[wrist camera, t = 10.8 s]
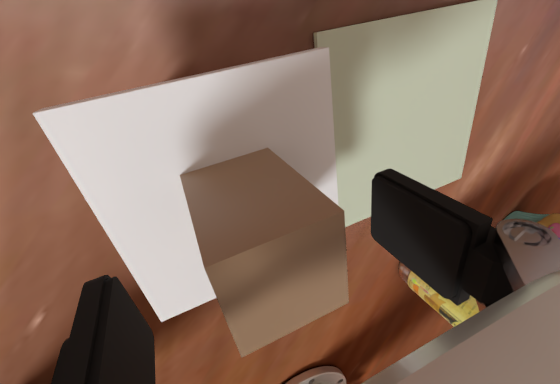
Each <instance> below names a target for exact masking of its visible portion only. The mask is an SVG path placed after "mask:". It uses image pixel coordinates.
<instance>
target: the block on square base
mask: <svg viewBox="0 0 560 384" xmlns="http://www.w3.org/2000/svg"><path fill="white" fill-rule="evenodd" d="M33 115H34V116H35V118H36V120H37V121H38V123H39V124H40V126H41V128H42V129H43V131H44V133H45V134H46V136H47V137H48V139H49V141H50V142H51V144H52V146H53V147H54V149H55V150H56V152H57V154H58V155H59V157H60V159H61V160H62V162H63V163H64V165H65V167H66V168H67V170H68V172H69V173H70V175H71V176H72V178H73V180H74V181H75V183H76V185H77V186H78V188H79V189H80V191H81V193H82V194H83V196H84V197H85V199H86V201H87V202H88V204H89V206H90V207H91V209H92V210H93V212H94V214H95V215H96V217H97V219H98V220H99V222H100V223H101V225H102V227H103V228H104V230H105V232H106V233H107V235H108V236H109V238H110V240H111V241H112V243H113V245H114V246H115V248H116V249H117V251H118V253H119V254H120V256H121V258H122V259H123V261H124V262H125V264H126V266H127V267H128V269H129V271H130V272H131V274H132V275H133V277H134V279H135V280H136V282H137V284H138V285H139V287H140V288H141V290H142V292H143V293H144V295H145V297H146V298H147V300H148V301H149V303H150V305H151V306H152V308H153V310H154V311H155V313H156V314H157V316H158V318H159V319H160V321H161V322H163V321H165V320H167V319H170V318H172V317H174V316H176V315H179V314H181V313H183V312H185V311H188V310H190V309H192V308H194V307H197V306H199V305H201V304H203V303H206V302H208V301H210V300H213V299H215V298H217V300H218V302H219V305H220V307H221V309H222V312H223V314H224V317H225V319H226V321H227V324H228V326H229V329H230V331H231V333H232V336H233V338H234V340H235V343H236V345H237V348H238V350H239V352H240V355H241V357H244V356H246V355H248V354H250V353H252V352H254V351H256V350H258V349H260V348H261V347H263V346H265V345H267V344H269V343H271V342H273V341H275V340H277V339H279V338H281V337H283V336H285V335H287V334H289V333H291V332H293V331H295V330H297V329H298V328H300V327H302V326H304V325H306V324H308V323H310V322H312V321H314V320H316V319H318V318H320V317H322V316H324V315H326V314H328V313H330V312H332V311H333V310H335V309H337V308H339V307H341V306H343V305H345V304H347V303H349V298H348V277H347V256H346V235H345V214H344V210H343V209H342V208H340V207H339V205H338V189H337V172H336V155H335V139H334V122H333V106H332V89H331V72H330V56H329V47H319V48H314V49H310V50H305V51H301V52H296V53H292V54H287V55H282V56H278V57H273V58H269V59H264V60H260V61H255V62H251V63H246V64H242V65H237V66H233V67H228V68H224V69H219V70H214V71H210V72H205V73H201V74H196V75H192V76H187V77H183V78H178V79H174V80H169V81H165V82H160V83H155V84H151V85H146V86H142V87H137V88H133V89H128V90H124V91H119V92H115V93H110V94H106V95H101V96H97V97H92V98H87V99H83V100H78V101H74V102H69V103H65V104H60V105H56V106H51V107H47V108H42V109H39V110H38V111H36V112H34V113H33Z"/></svg>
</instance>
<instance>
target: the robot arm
mask: <svg viewBox="0 0 560 384" xmlns="http://www.w3.org/2000/svg"><path fill="white" fill-rule="evenodd" d="M492 220H493V219H492V218H490V217H488V216H486V215H484V214H482V213H480V212H478V211H476V210H474V209H472V208H470V207H468V206H466V205H464V204H462V203H460V202H458V201H456V200H454V199H452V198H450V197H448V196H446V195H444V194H442V193H440V192H438V191H436V190H434V189H432V188H430V187H428V186H426V185H424V184H422V183H420V182H418V181H416V180H414V179H412V178H409V177H407V176H405V175H403V174H401V173H399V172H397V171H395V170H393V169H386V170H383V171H381V172H378V173H376V174H375V176H374V178H373V179H372V194H371V234H372V237H373V238H374V240H375V241H377V242H378V243H379V244H380V245H381V246H382V247H384V248H385V249H386V250H387V251H388V252H390V253H391V254H392V255H393V256H394V257H396V258H397V259H398V260H399V261H400V262H401V263H403V264H404V265H405V266H406V267H407V268H409V269H410V270H411V271H412V272H413V273H414V274H416V275H417V276H418V277H419V278H420V279H422V280H423V281H424V282H425V283H426V284H428V285H429V286H430V287H431V288H432V289H433V290H435V291H436V292H437V293H438V294H439V295H441V296H442V297H443V298H445V299H450V300H451V301H452V302H453V303H454V304H456V305H457V306H458V305H460V304H462V303H463V302H465V301H467V300H468V299H469V297H470V295H471V296H472V297H473V298H475V299H476V302H477V305H478V308H479V311H480V312H478V313H477V314H475V315H473V316H472V317H470V318H468V319H467V320H465V321H463V322H462V323H460V324H458V325H457V326H455V327H454V328H452V329H450V330H449V331H447V332H445V333H444V334H442V335H440V336H439V337H437V338H435V339H434V340H432V341H430V342H429V343H427V344H425V345H424V346H422V347H420V348H419V349H417V350H416V351H414V352H412V353H411V354H409V355H407V356H406V357H404V358H402V359H401V360H399V361H397V362H396V363H394V364H393V365H391V366H389V367H388V368H386V369H384V370H383V371H381V372H379V373H378V374H376V375H375V376H373V377H371V378H370V379H368V380H366V381H365V382H363V383H361V384H560V239H559V238H558V236H557V235H556V234H555V233H554V232H553V231H552V230H550V229H549V228H547V227H545V226H544V225H541V224H539V223H536V222H533V221H529V220H525V219H506V220H502V221H501V222H499V223H498V224H497V227H496V229H495V228H494V227H492V226H491V223H492ZM51 384H155V352H154V336H153V333H152V330H151V328H150V327H149V325H148V324H147V322H146V321H145V319H144V317H143V316H142V314H141V313H140V311H139V310H138V308H137V307H136V305H135V304H134V302H133V301H132V299H131V298H130V296H129V294H128V293H127V291H126V290H125V288H124V287H123V285H122V284H121V282H120V281H119V279H118V278H117V277H112V278H110V277H109V276H108V275H104V276H101V277H99V278H96V279H93V280H91V281H88V282H86V283H84V285H83V288H82V292H81V296H80V299H79V303H78V307H77V311H76V315H75V318H74V322H73V326H72V330H71V334H70V338H68V339H66V341H65V342H64V343H63V345H62V347H61V350H60V354H59V357H58V361H57V364H56V368H55V371H54V375H53V378H52V382H51ZM285 384H346V378H345V376H344V375H343V373H342V372H341V370H340V369H338V368H336V367H333V366H322V367H317V368H313V369H310V370H308V371H305V372H303V373H301V374H299V375H297V376H296V377H294V378H292V379H291V380H289V381H288V382H286V383H285Z"/></svg>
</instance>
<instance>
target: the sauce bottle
mask: <svg viewBox="0 0 560 384" xmlns="http://www.w3.org/2000/svg"><path fill="white" fill-rule="evenodd" d="M399 275H400V276H401V278H402V279H403V280H404V281H405V282H406V283H407V284H408V286H409V287H410V288H411V289H412V290H413V291H414V292H415V293H416V294H417V295H419V296H420V297H421V298H422V299H423V300H424V301H425V302H427V303H428V304H429V305H430V306H431V307H432V308H433V309H434V310H436V311H437V312H438V313H439V314H440V315H441V316H442V317H444V318H445V319H446V320H447V321H448V322H449V323H450V324H452V325H453V326H454V327H455V326H457V325H458V324H460V323H462V322H463V321H465V320H467V319H468V318H470V317H472V316H473V315H475V314H477V313H478V312H480V311H479V308H478V305H477V302H476V299H475V298H473V297H472V296H471V295H470V297H469V299H468V300H467V301H465V302H463V303H462V304H460V305H458V306H457V305H456V304H454V303H453V302H452V301H451V300H450V299H445V298H443V297H442V296H441V295H439V294H438V293H437V292H436V291H435V290H433V289H432V288H431V287H430V286H429V285H428V284H426V283H425V282H424V281H423V280H422V279H420V278H419V277H418V276H417V275H416V274H414V273H413V272H412V271H411V270H410V269H409V268H407V267H406V266H405V265H404V264H403V263H401V262H400V264H399Z"/></svg>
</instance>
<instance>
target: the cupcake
mask: <svg viewBox="0 0 560 384" xmlns="http://www.w3.org/2000/svg"><path fill="white" fill-rule="evenodd" d="M506 219H525V220H529V221H533V222H536V223H539V224H541V225H544V226H545V227H547V228H549V229H550V230H552V231H553V232H554V233H555V234H556V235H557V236H558V238H559V239H560V214H559V213H553V214H533V213H527V212H521V211H515V212H512V213H511V214H509V215H508V216H507V217H506V218H505V219H504V220H506Z"/></svg>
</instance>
